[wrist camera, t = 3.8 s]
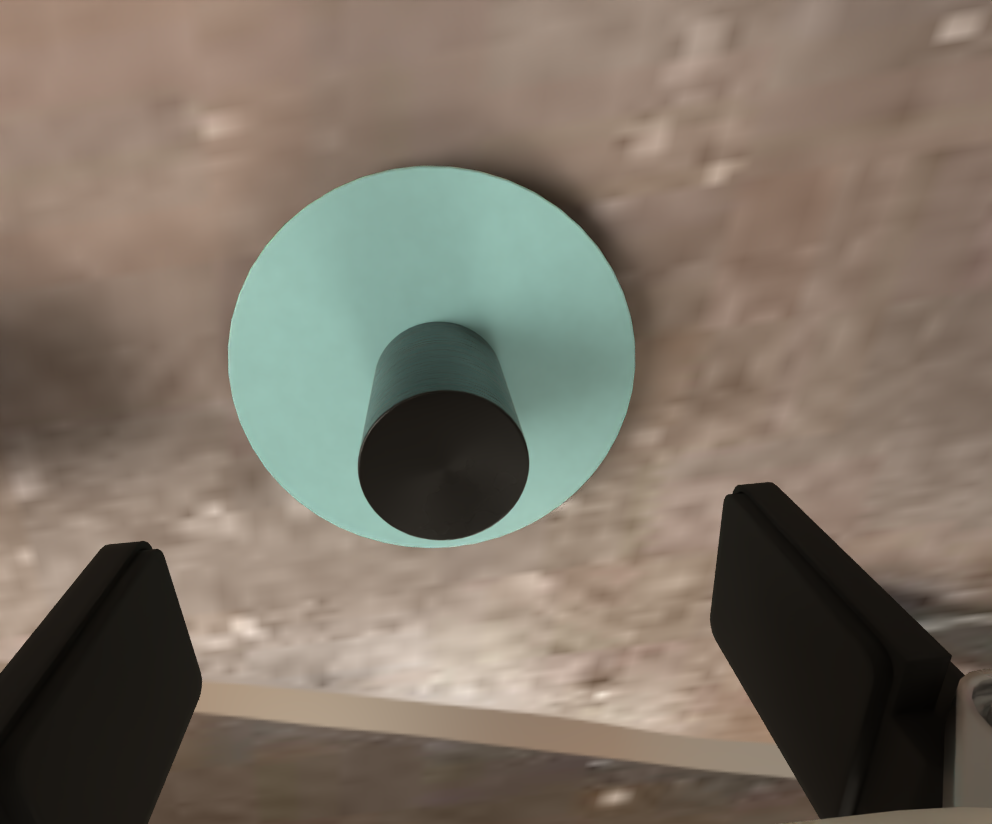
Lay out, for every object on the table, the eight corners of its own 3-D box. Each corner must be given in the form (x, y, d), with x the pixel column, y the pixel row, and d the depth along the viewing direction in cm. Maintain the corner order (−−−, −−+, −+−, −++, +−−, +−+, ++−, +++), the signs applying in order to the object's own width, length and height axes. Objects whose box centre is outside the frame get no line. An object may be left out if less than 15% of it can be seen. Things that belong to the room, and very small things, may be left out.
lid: (279, 544, 20) (226, 697, 15) (194, 175, 16) (70, 199, 10) (617, 511, 21) (685, 644, 16) (633, 153, 17) (738, 164, 11)
